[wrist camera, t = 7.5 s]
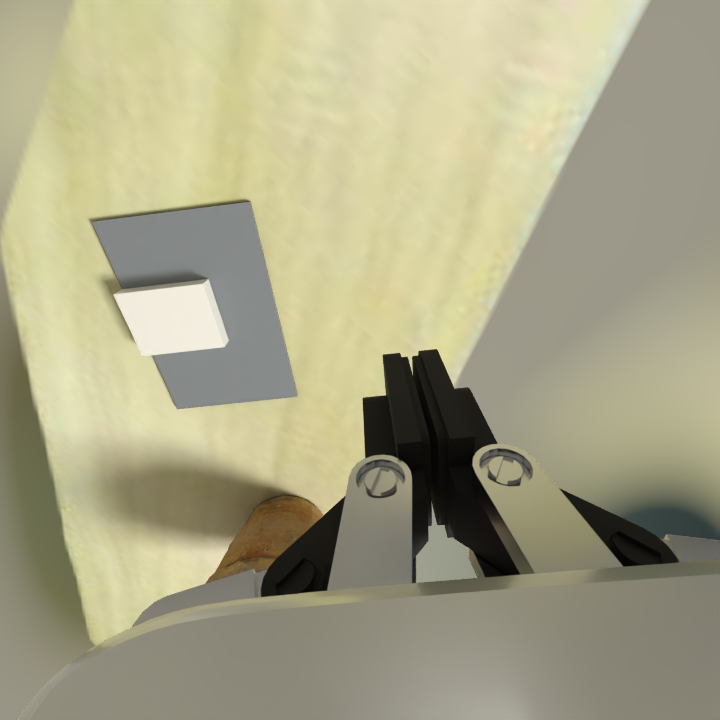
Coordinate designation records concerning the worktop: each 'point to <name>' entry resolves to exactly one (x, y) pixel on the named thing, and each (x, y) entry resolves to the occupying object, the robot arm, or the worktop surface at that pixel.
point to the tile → (173, 317)
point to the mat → (231, 291)
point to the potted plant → (267, 535)
